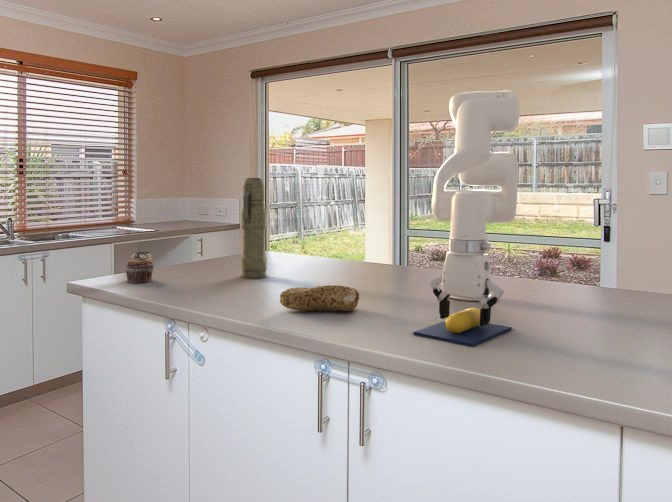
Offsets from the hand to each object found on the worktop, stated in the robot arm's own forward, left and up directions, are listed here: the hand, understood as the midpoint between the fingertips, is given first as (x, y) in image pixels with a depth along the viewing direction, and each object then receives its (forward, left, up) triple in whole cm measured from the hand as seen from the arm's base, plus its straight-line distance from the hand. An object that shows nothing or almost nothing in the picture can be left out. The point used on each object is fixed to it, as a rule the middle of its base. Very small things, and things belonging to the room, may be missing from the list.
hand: (463, 321), depth 137 cm
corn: (0, +1, -2) cm, 2 cm away
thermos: (-90, +20, -3) cm, 92 cm away
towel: (0, 0, -3) cm, 3 cm away
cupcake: (-111, -14, -3) cm, 112 cm away
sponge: (-38, -6, -3) cm, 39 cm away
